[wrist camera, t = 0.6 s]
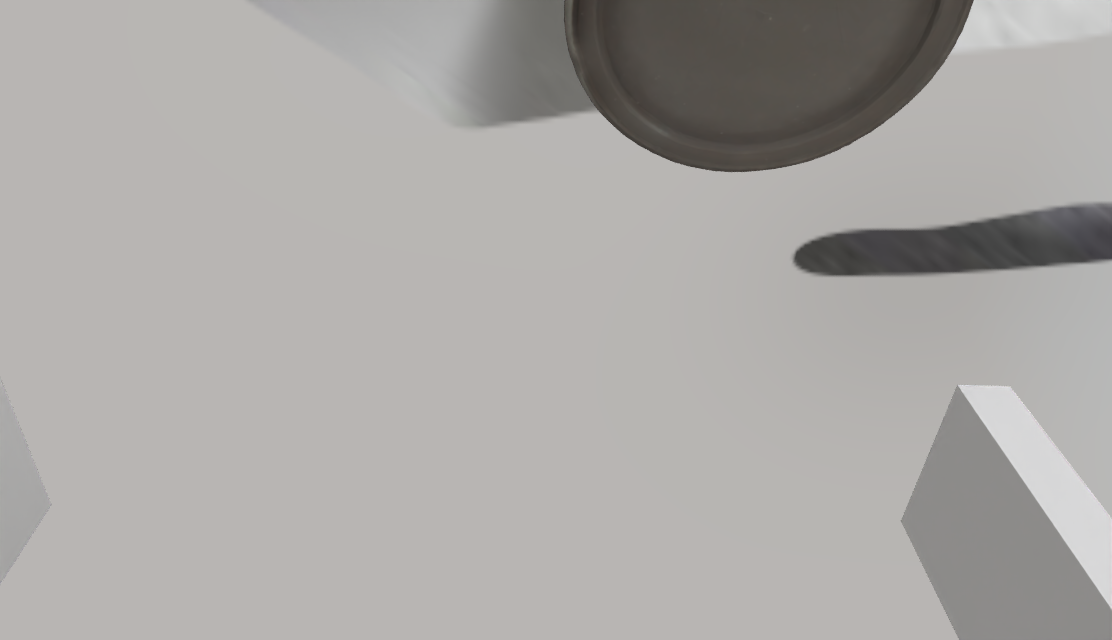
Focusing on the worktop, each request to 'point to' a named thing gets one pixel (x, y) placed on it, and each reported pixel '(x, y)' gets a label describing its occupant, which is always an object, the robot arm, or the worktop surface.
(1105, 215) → the worktop surface
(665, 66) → the coffee can
